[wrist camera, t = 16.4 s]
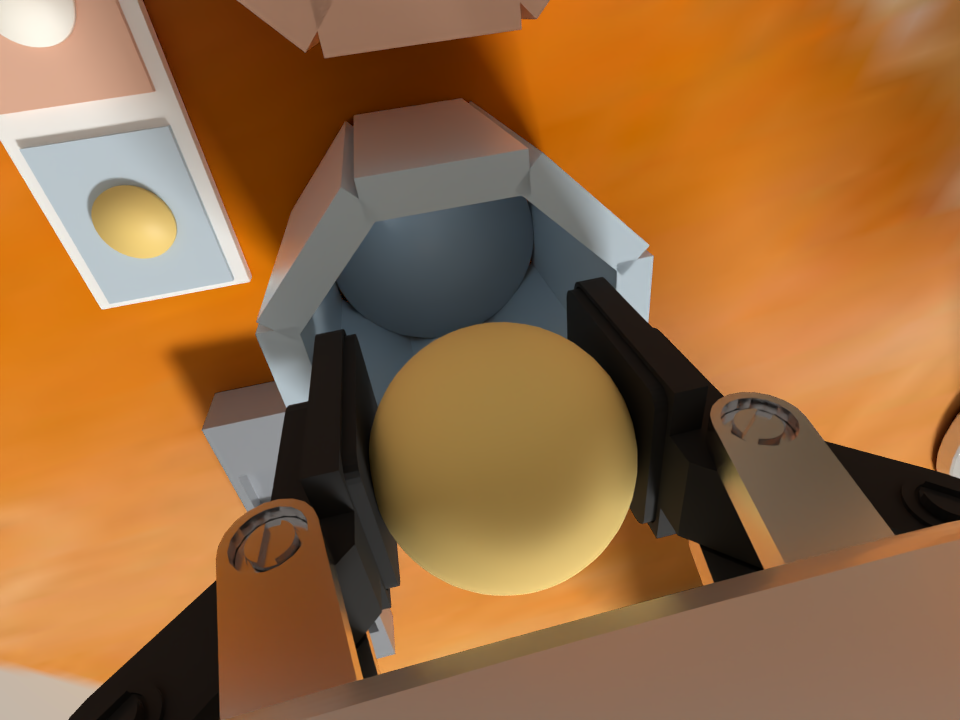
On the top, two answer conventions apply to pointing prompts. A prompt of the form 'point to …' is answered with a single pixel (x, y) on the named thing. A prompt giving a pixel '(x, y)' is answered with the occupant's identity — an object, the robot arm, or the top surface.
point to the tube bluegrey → (434, 242)
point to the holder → (263, 461)
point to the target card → (112, 150)
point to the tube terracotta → (388, 21)
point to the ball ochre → (503, 458)
